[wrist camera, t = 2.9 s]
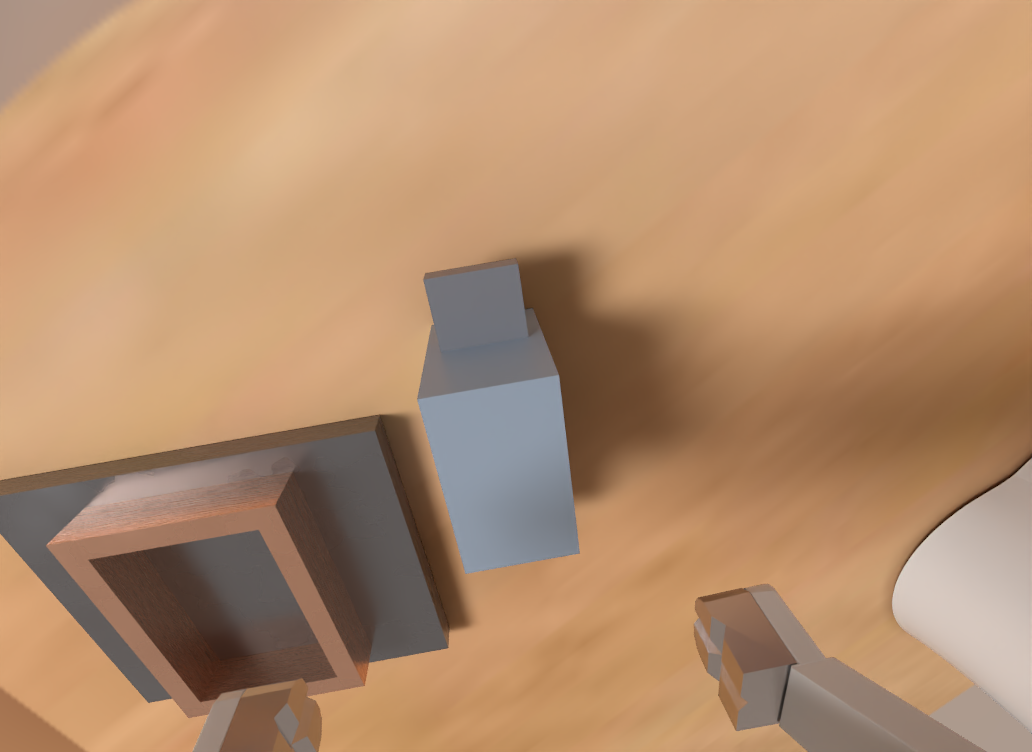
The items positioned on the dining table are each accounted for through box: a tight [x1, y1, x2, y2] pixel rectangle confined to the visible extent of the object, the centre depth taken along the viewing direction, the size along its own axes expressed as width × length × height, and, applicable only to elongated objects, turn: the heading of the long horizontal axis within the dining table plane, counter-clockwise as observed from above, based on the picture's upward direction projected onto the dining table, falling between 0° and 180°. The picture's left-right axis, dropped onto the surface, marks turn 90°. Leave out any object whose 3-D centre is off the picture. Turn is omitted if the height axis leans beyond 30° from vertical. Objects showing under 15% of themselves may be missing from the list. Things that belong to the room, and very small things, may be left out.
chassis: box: [0, 415, 449, 718], centre depth 22 cm, size 16×14×3 cm
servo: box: [417, 258, 580, 574], centre depth 17 cm, size 4×12×6 cm, turn 8°
